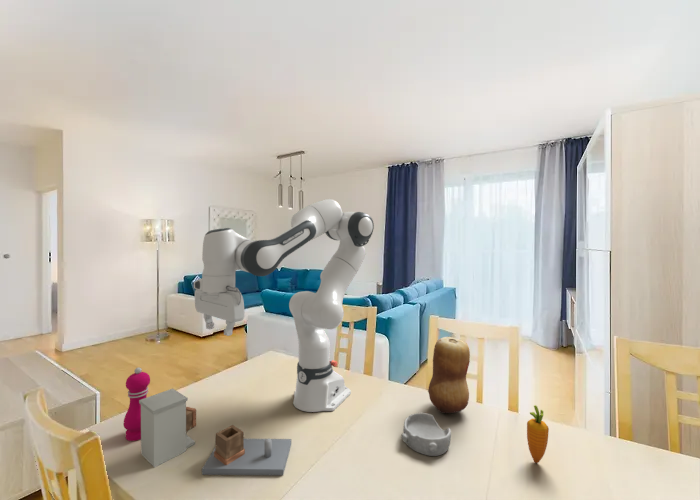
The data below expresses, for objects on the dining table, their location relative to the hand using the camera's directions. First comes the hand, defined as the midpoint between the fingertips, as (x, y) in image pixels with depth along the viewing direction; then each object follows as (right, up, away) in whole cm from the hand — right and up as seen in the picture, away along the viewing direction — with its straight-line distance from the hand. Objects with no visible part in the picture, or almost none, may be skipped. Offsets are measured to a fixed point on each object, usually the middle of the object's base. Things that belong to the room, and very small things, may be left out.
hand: (218, 331), depth 93 cm
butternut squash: (+72, -32, +18) cm, 81 cm away
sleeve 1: (-13, -31, +4) cm, 34 cm away
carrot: (+88, -33, -7) cm, 94 cm away
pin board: (+11, -32, -8) cm, 35 cm away
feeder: (-12, -31, -5) cm, 34 cm away
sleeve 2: (+6, -30, -9) cm, 32 cm away
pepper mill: (-24, -31, +1) cm, 39 cm away
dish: (+60, -33, +1) cm, 68 cm away
